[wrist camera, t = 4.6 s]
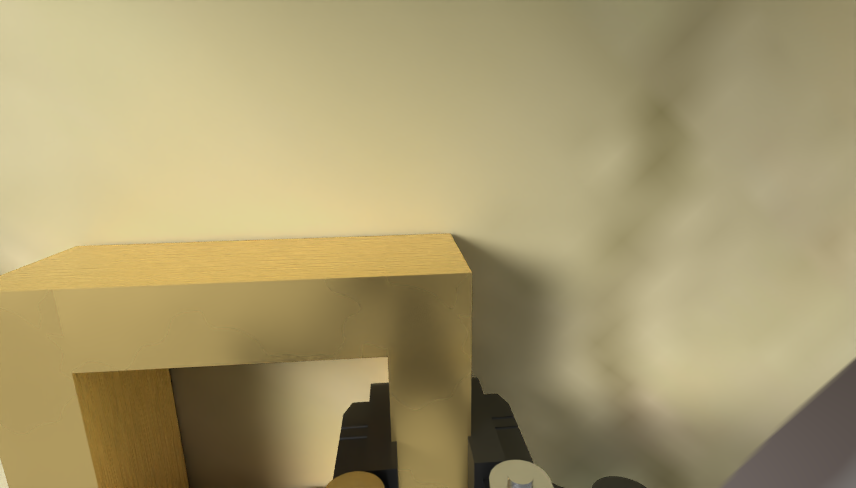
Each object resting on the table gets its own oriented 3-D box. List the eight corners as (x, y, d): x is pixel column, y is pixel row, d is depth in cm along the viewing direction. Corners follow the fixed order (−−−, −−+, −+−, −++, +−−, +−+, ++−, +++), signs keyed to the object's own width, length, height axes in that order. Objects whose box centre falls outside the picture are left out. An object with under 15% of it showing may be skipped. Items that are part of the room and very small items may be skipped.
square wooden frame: (76, 246, 12) (-47, 293, 9) (450, 233, 13) (472, 272, 10) (140, 549, 15) (64, 679, 11) (451, 524, 16) (469, 639, 12)
